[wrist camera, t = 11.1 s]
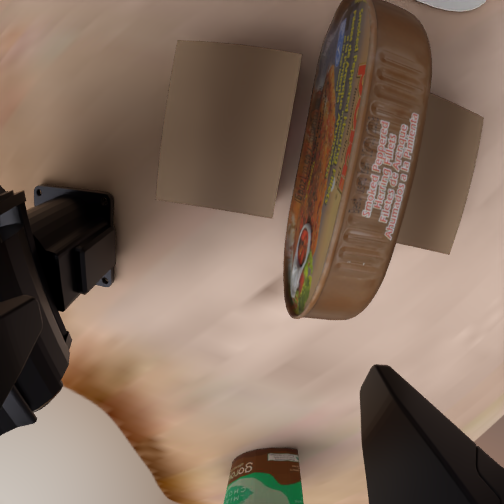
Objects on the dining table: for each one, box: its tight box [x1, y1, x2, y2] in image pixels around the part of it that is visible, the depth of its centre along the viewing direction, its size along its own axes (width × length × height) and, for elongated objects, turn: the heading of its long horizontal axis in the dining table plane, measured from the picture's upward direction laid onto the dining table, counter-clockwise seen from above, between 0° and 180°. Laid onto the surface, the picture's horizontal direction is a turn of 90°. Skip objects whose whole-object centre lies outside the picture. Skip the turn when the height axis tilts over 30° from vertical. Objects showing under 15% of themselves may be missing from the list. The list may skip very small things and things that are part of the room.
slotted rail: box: [156, 40, 484, 255], centre depth 15 cm, size 16×8×3 cm, turn 81°
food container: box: [224, 448, 304, 504], centre depth 24 cm, size 12×6×10 cm, turn 158°
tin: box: [283, 0, 432, 320], centre depth 13 cm, size 15×3×8 cm, turn 170°
